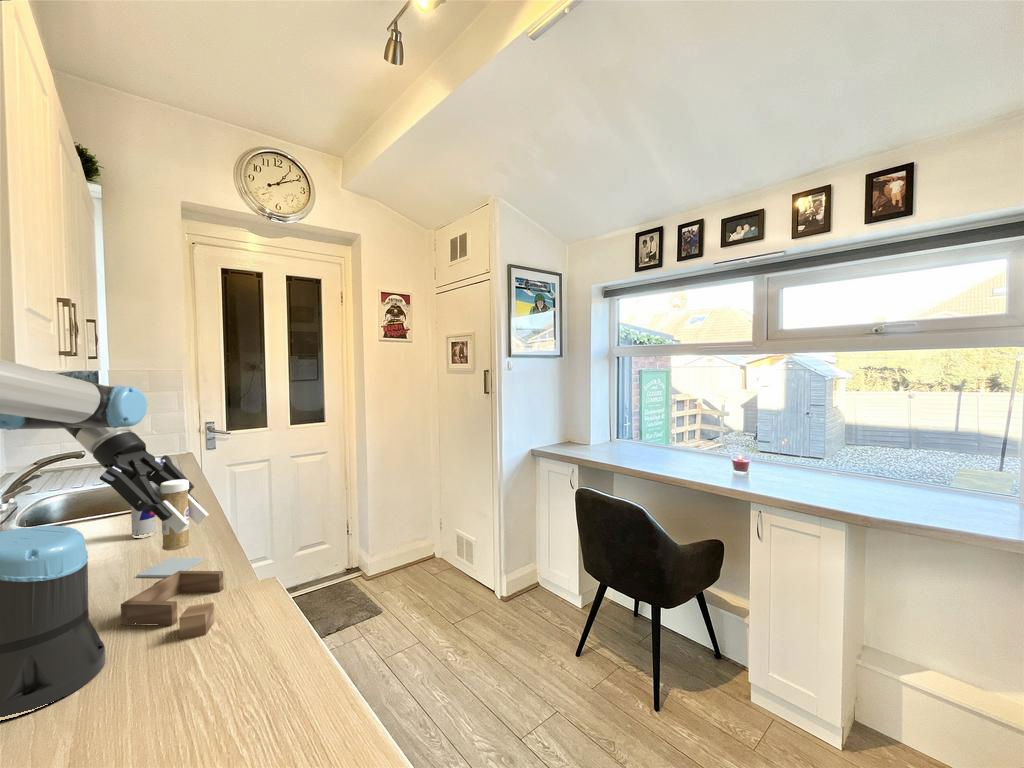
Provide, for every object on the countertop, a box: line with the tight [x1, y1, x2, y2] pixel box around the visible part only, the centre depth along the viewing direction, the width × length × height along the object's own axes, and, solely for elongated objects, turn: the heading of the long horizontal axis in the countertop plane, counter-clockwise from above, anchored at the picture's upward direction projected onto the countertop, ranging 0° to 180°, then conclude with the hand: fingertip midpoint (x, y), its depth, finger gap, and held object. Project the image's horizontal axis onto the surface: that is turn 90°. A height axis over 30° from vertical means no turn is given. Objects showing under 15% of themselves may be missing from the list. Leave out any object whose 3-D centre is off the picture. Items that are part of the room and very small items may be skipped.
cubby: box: [120, 570, 225, 626], centre depth 86 cm, size 13×10×4 cm
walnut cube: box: [178, 602, 215, 640], centre depth 78 cm, size 4×4×4 cm
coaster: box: [136, 557, 205, 579], centre depth 103 cm, size 9×9×1 cm
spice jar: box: [159, 479, 191, 552], centre depth 86 cm, size 5×5×13 cm
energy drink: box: [130, 501, 157, 536], centre depth 124 cm, size 5×5×12 cm
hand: (193, 523), depth 85 cm, fingers closed on spice jar, 4 cm apart
